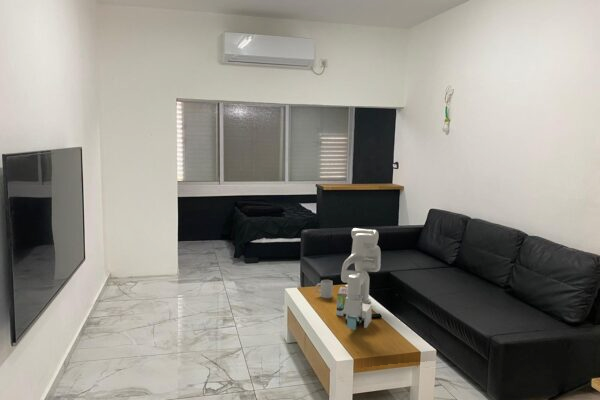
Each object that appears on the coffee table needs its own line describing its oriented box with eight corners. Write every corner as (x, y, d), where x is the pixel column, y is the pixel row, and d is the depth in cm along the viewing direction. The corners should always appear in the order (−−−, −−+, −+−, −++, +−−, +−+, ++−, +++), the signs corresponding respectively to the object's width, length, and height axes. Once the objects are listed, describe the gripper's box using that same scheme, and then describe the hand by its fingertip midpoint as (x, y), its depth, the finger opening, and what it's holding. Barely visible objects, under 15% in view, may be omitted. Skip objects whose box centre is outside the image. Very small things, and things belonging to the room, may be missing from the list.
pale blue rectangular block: (353, 320, 277) (353, 310, 276) (361, 321, 275) (361, 312, 274) (347, 328, 266) (347, 318, 265) (355, 329, 264) (355, 319, 263)
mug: (331, 294, 333) (331, 279, 332) (333, 298, 325) (333, 283, 324) (314, 294, 332) (315, 279, 331) (316, 298, 324) (316, 283, 322)
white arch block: (355, 318, 290) (355, 302, 288) (371, 321, 286) (371, 304, 284) (349, 324, 279) (349, 308, 277) (365, 328, 275) (366, 311, 273)
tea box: (351, 317, 291) (352, 294, 289) (336, 315, 293) (336, 293, 291) (353, 308, 306) (354, 287, 304) (338, 307, 308) (339, 285, 306)
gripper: (369, 296, 265) (368, 326, 267) (341, 291, 271) (340, 320, 274) (366, 300, 258) (365, 331, 261) (337, 295, 264) (336, 325, 267)
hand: (352, 325), depth 267 cm, fingers closed on pale blue rectangular block, 5 cm apart
